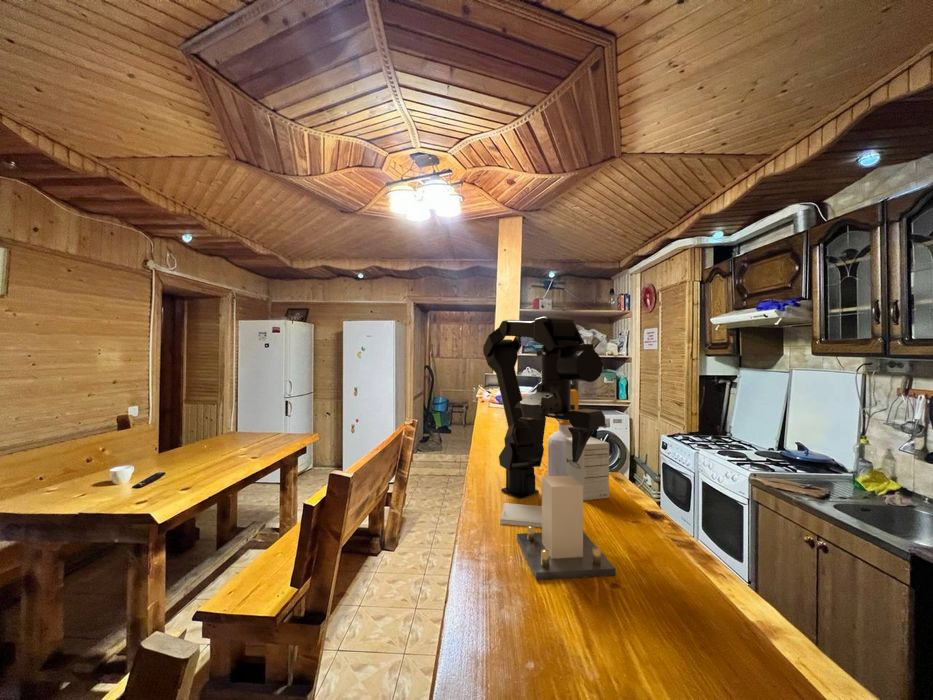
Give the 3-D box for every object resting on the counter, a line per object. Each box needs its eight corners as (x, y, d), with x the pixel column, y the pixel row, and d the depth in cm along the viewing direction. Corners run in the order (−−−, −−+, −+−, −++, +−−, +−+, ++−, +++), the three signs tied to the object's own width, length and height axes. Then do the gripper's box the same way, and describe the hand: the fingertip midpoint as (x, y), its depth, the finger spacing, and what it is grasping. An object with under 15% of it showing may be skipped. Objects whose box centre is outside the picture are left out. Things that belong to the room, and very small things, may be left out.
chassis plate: (516, 539, 66) (516, 522, 66) (582, 536, 67) (582, 519, 67) (535, 579, 54) (535, 558, 54) (615, 575, 55) (615, 554, 55)
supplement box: (564, 489, 91) (564, 437, 91) (591, 487, 93) (591, 435, 93) (581, 501, 84) (581, 444, 84) (610, 498, 86) (610, 442, 86)
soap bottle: (555, 471, 105) (555, 383, 106) (588, 477, 100) (587, 385, 101) (542, 479, 98) (542, 385, 99) (576, 486, 93) (576, 387, 93)
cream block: (541, 542, 63) (541, 476, 63) (570, 541, 63) (570, 475, 64) (551, 558, 58) (551, 486, 58) (583, 556, 58) (582, 485, 59)
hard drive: (500, 518, 72) (566, 523, 70) (503, 502, 80) (563, 506, 78) (500, 527, 72) (566, 532, 70) (503, 509, 80) (563, 514, 78)
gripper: (495, 378, 78) (495, 453, 78) (569, 383, 63) (569, 476, 63) (531, 376, 85) (531, 445, 85) (606, 380, 70) (607, 464, 70)
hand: (556, 456), depth 75 cm, fingers open, 9 cm apart
